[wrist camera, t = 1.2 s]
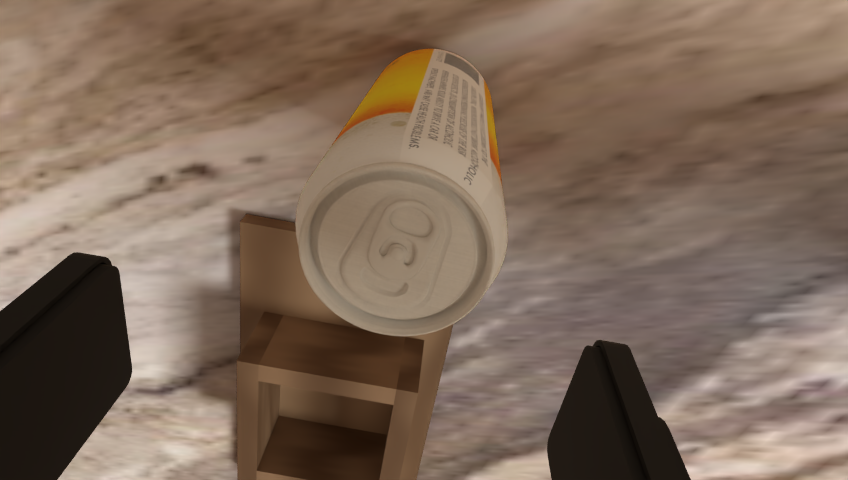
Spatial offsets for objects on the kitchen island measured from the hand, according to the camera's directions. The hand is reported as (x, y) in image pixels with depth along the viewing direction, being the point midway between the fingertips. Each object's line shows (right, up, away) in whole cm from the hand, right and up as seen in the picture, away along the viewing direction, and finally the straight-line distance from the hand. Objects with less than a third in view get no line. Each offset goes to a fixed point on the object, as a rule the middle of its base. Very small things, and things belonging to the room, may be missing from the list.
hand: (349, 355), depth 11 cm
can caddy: (-4, -7, +26) cm, 27 cm away
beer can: (+2, +9, +17) cm, 19 cm away
